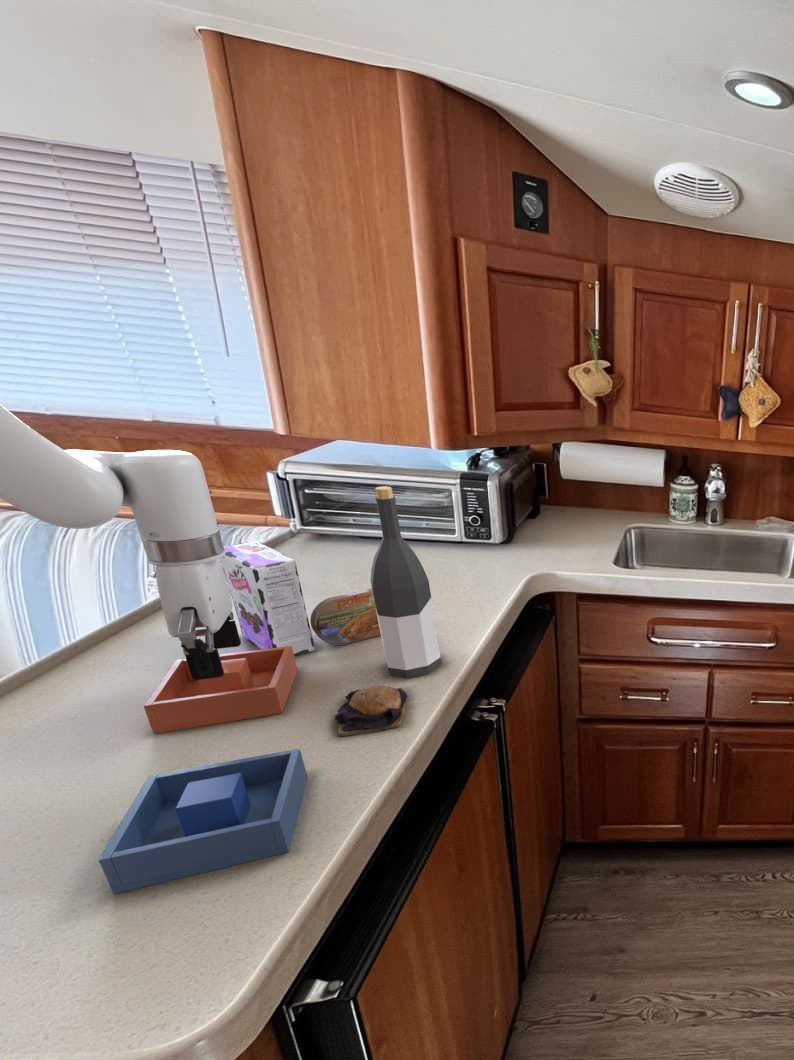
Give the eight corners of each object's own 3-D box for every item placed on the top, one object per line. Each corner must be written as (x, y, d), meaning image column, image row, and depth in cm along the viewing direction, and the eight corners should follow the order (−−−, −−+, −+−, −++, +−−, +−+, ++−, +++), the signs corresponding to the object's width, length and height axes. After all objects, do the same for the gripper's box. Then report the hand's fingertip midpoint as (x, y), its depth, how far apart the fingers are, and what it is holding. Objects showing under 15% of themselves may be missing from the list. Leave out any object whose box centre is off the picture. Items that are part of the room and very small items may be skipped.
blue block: (187, 842, 67) (174, 808, 65) (199, 815, 70) (187, 782, 69) (242, 830, 69) (231, 797, 67) (251, 804, 73) (241, 772, 71)
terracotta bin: (153, 733, 84) (143, 706, 82) (184, 685, 95) (176, 659, 93) (282, 713, 90) (275, 687, 88) (297, 669, 101) (291, 645, 99)
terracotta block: (206, 704, 89) (197, 677, 88) (214, 689, 93) (206, 662, 91) (247, 698, 91) (239, 671, 90) (253, 684, 95) (246, 657, 93)
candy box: (241, 637, 109) (215, 546, 103) (281, 626, 114) (259, 539, 107) (276, 662, 103) (250, 567, 96) (317, 649, 107) (295, 558, 101)
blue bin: (113, 894, 61) (98, 860, 60) (160, 806, 72) (148, 775, 71) (288, 852, 68) (279, 820, 66) (307, 776, 79) (300, 748, 77)
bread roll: (345, 700, 95) (340, 678, 93) (410, 690, 98) (406, 669, 97) (332, 739, 86) (326, 715, 84) (404, 727, 89) (400, 704, 88)
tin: (320, 651, 107) (309, 605, 104) (313, 645, 108) (302, 600, 105) (415, 626, 118) (408, 584, 115) (408, 621, 120) (401, 579, 116)
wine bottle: (395, 656, 107) (362, 481, 96) (447, 654, 109) (421, 482, 98) (378, 679, 100) (341, 493, 89) (435, 677, 102) (405, 494, 91)
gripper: (168, 530, 89) (200, 639, 95) (120, 571, 75) (162, 696, 81) (237, 527, 92) (264, 633, 99) (204, 565, 78) (238, 686, 85)
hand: (218, 661), depth 90 cm, fingers open, 9 cm apart
